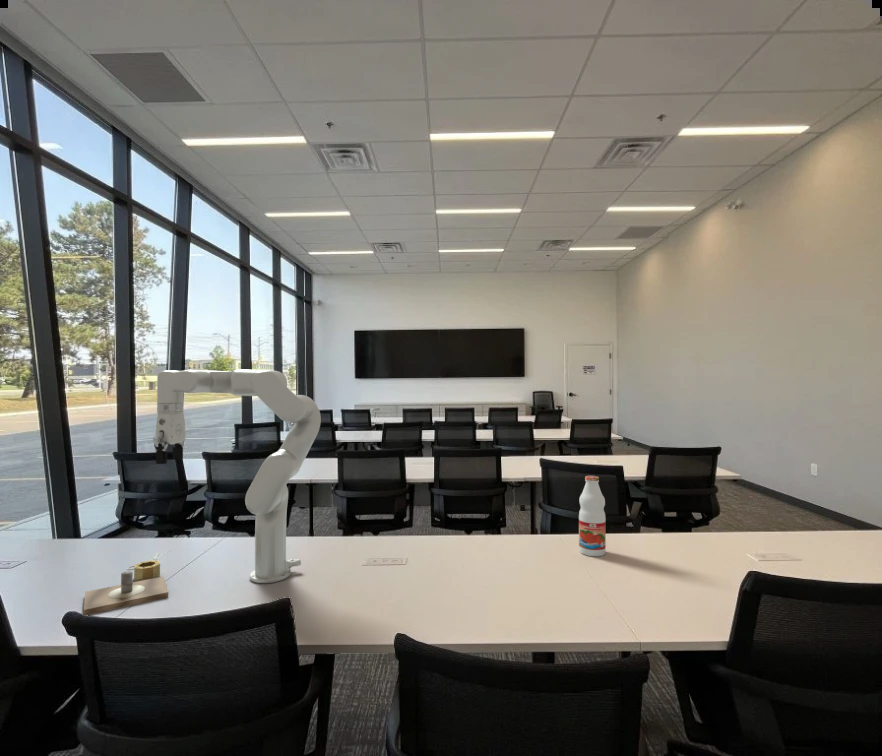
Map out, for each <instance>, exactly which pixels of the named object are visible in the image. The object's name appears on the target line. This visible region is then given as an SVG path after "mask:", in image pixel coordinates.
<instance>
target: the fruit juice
mask: <svg viewBox="0 0 882 756" xmlns="http://www.w3.org/2000/svg"><path fill="white" fill-rule="evenodd" d="M584 481H585V485H584V487H583V489H582V492H581V493H580V496H579V500H578V501H579V505H580V506H579V507H580V509H579V511H578V513H579V514H578V549H579V552H580V553H581V554H583V555H584V556H589V557H602V556H605V554H606V546H607V545H606V543H607V542H606V540H607V539H606V520H607V519H606V512H605V510H604V508H605V506H606V499H605V496H604V494H603V493H602V491H601V488H600V484H599V482H600V477H599V476H596V475H586V476H585V477H584Z"/></svg>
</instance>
